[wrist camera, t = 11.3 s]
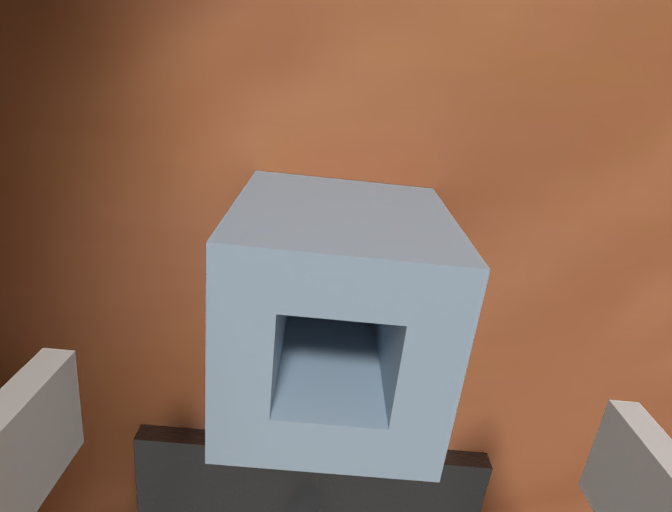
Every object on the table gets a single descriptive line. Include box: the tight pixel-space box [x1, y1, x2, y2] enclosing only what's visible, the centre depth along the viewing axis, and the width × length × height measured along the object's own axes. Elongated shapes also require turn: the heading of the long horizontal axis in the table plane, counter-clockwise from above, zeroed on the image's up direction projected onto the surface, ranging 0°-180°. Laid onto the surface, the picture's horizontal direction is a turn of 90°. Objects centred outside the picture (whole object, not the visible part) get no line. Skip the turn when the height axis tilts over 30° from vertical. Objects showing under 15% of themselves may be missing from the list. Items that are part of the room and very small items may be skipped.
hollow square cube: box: [205, 171, 490, 482], centre depth 18 cm, size 12×7×8 cm, turn 174°
